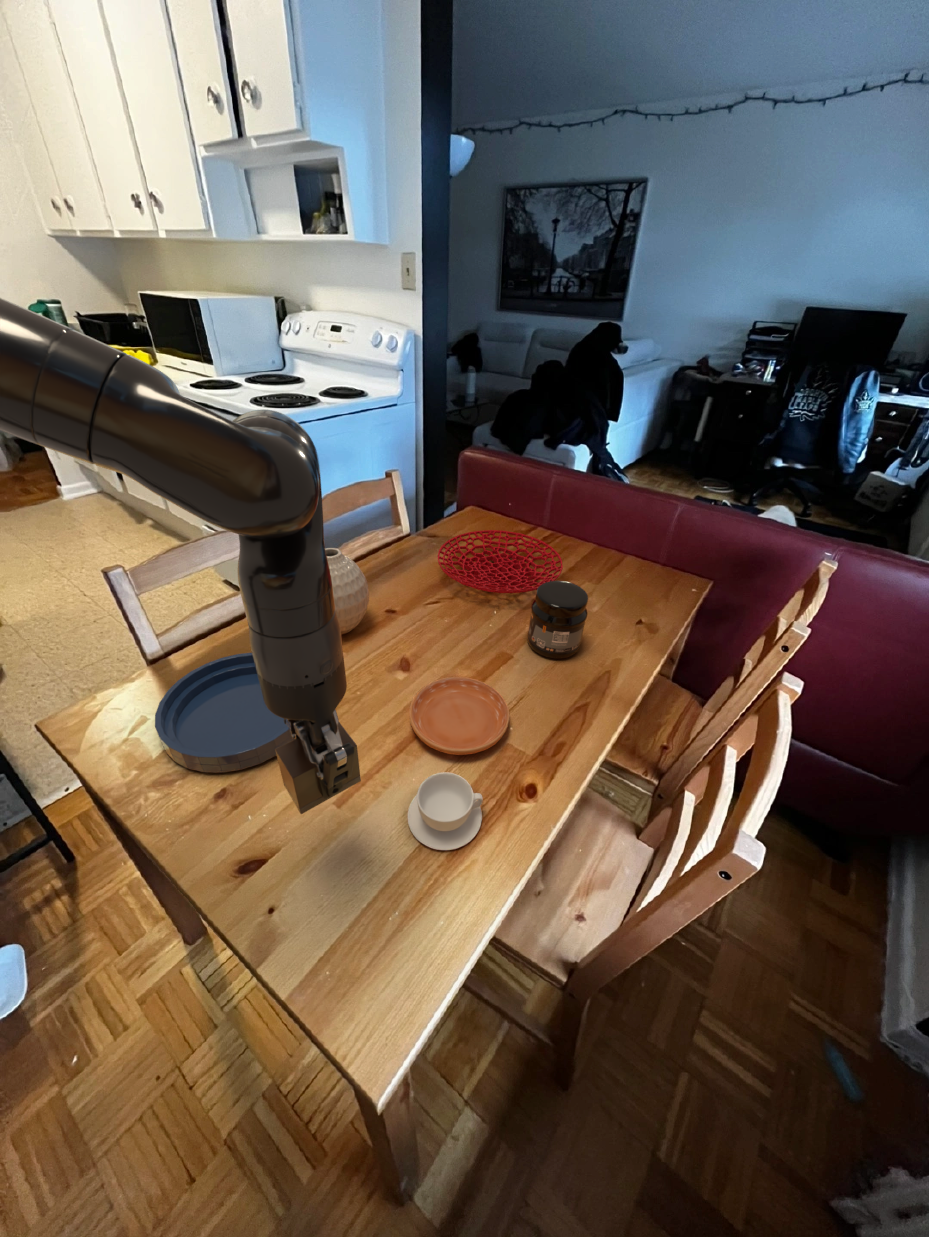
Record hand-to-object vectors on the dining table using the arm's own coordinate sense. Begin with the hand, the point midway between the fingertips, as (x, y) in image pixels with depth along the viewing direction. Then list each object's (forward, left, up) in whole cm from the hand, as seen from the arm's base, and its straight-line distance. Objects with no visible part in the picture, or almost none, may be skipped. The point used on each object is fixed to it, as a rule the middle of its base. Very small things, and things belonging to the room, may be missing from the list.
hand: (321, 775), depth 54 cm
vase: (+23, +42, -15) cm, 50 cm away
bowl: (+63, +38, -15) cm, 75 cm away
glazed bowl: (-1, +29, -15) cm, 33 cm away
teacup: (+14, -5, -15) cm, 21 cm away
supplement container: (+54, +12, -15) cm, 57 cm away
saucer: (+26, +7, -15) cm, 31 cm away
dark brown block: (0, 0, -1) cm, 1 cm away
